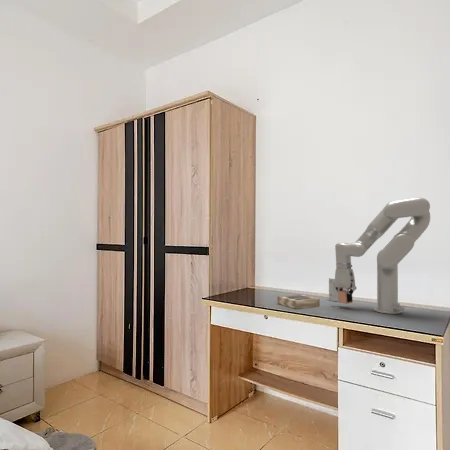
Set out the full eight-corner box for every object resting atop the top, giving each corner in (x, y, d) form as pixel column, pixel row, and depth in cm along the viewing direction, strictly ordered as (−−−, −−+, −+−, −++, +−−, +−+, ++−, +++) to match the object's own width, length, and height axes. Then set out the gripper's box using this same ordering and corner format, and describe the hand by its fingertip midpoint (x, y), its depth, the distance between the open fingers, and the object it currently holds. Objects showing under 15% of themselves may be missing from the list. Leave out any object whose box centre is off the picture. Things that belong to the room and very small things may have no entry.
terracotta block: (352, 302, 190) (352, 291, 190) (345, 303, 187) (345, 292, 187) (345, 301, 194) (344, 290, 194) (338, 302, 192) (337, 291, 192)
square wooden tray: (319, 306, 195) (319, 298, 195) (296, 309, 187) (296, 300, 187) (299, 301, 209) (299, 293, 209) (277, 303, 201) (277, 296, 201)
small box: (346, 301, 210) (346, 278, 211) (340, 302, 206) (340, 279, 206) (334, 299, 217) (334, 277, 217) (328, 300, 212) (328, 278, 213)
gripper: (361, 266, 186) (363, 302, 185) (336, 265, 201) (338, 298, 200) (351, 267, 182) (353, 304, 181) (326, 266, 197) (328, 299, 196)
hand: (345, 300), depth 191 cm, fingers closed on terracotta block, 5 cm apart
